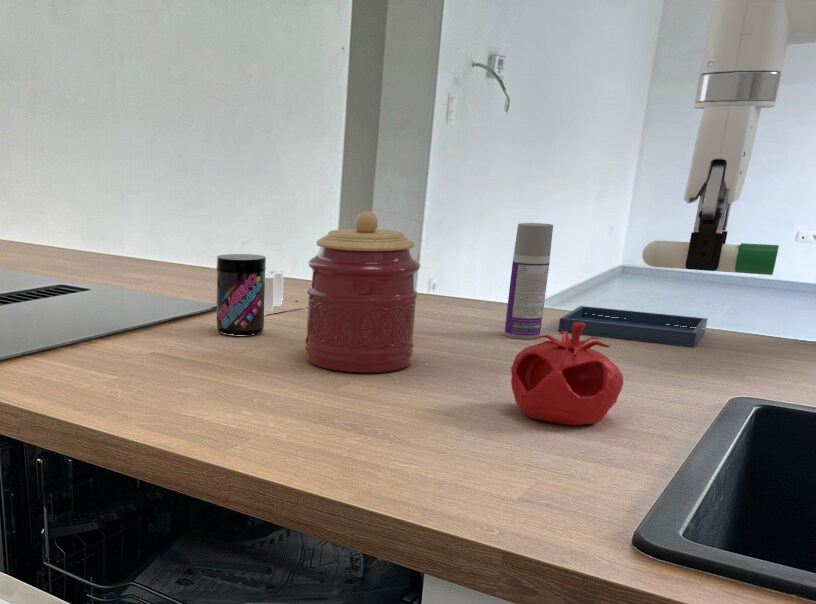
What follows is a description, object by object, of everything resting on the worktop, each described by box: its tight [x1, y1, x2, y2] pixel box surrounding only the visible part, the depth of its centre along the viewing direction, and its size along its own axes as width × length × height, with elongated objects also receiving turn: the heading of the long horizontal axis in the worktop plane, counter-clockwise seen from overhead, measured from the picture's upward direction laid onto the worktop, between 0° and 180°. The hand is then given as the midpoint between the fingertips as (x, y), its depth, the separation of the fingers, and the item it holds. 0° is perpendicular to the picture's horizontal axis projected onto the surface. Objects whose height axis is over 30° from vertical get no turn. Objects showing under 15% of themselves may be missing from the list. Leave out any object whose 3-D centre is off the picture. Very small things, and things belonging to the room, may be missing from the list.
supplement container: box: [215, 253, 267, 335], centre depth 119 cm, size 7×7×10 cm
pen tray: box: [558, 305, 708, 348], centre depth 122 cm, size 17×12×2 cm
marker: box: [641, 240, 780, 276], centre depth 97 cm, size 13×3×3 cm, turn 56°
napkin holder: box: [264, 267, 285, 311], centre depth 139 cm, size 15×11×6 cm
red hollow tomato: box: [510, 322, 624, 426], centre depth 82 cm, size 10×10×9 cm
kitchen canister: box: [304, 210, 421, 374], centre depth 102 cm, size 13×13×18 cm
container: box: [504, 222, 554, 340], centre depth 117 cm, size 5×5×15 cm
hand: (703, 266), depth 98 cm, fingers closed on marker, 3 cm apart
